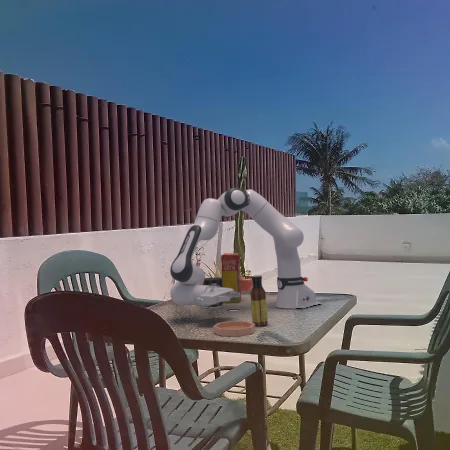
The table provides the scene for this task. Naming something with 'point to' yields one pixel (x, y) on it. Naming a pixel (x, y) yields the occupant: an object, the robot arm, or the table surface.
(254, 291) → the sauce bottle
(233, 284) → the food packaging
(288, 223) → the robot arm
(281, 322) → the table surface
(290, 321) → the table surface
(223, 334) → the terracotta saucer
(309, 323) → the table surface
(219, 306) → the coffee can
